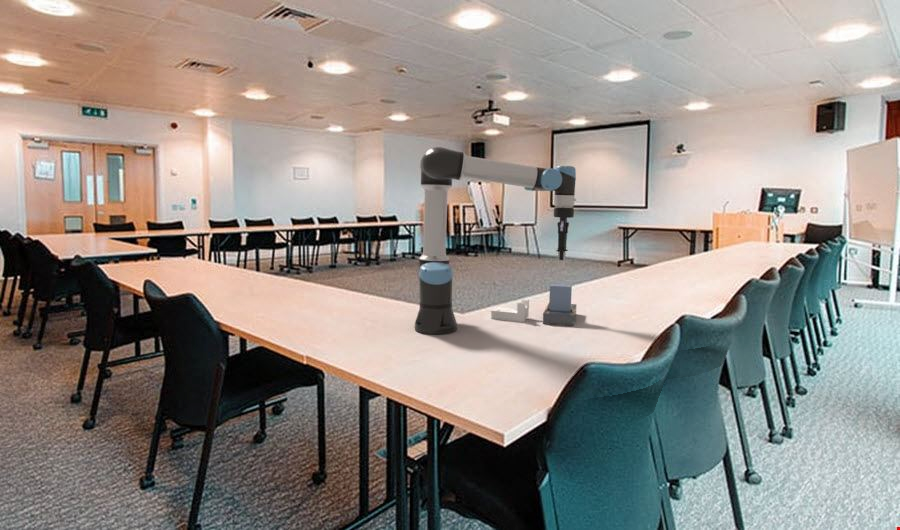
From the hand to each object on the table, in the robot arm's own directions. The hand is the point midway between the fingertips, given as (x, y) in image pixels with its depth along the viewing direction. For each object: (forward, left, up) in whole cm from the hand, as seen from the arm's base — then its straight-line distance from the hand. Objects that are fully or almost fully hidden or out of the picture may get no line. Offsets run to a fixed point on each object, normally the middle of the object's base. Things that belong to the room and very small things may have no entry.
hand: (561, 268), depth 208 cm
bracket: (-19, -5, -21) cm, 28 cm away
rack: (0, 0, -20) cm, 20 cm away
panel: (0, -2, -19) cm, 20 cm away
